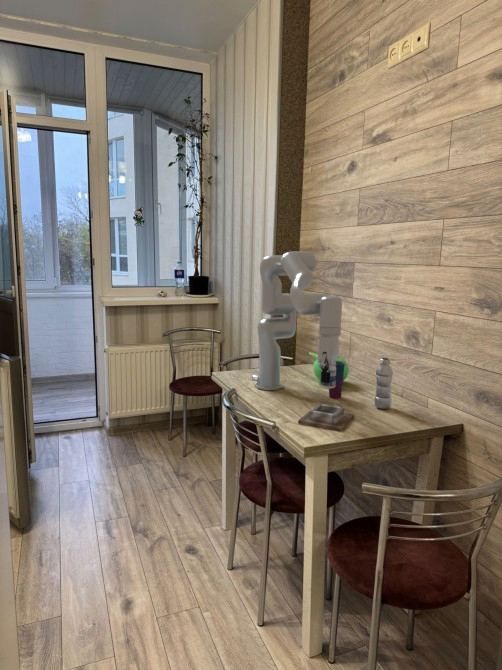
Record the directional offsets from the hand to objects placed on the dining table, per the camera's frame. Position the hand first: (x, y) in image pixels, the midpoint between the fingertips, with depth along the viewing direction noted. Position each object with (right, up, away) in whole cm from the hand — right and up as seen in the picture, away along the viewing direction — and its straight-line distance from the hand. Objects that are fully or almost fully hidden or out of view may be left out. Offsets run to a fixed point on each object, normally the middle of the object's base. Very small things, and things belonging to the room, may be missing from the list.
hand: (328, 380), depth 171 cm
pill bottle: (0, -3, 0) cm, 3 cm away
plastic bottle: (+24, -13, +17) cm, 32 cm away
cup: (+8, -10, +31) cm, 33 cm away
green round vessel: (+9, -7, +51) cm, 53 cm away
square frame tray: (0, -15, +3) cm, 15 cm away
